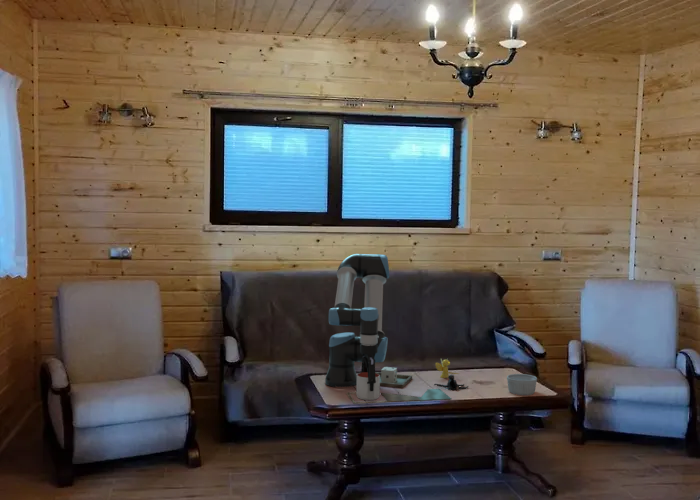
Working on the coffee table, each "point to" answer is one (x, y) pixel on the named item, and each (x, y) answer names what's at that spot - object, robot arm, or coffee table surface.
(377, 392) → the cup
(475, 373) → the coffee table surface
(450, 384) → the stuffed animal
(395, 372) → the die
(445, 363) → the figurine
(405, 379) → the dice tray
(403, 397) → the track
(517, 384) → the ramekin
